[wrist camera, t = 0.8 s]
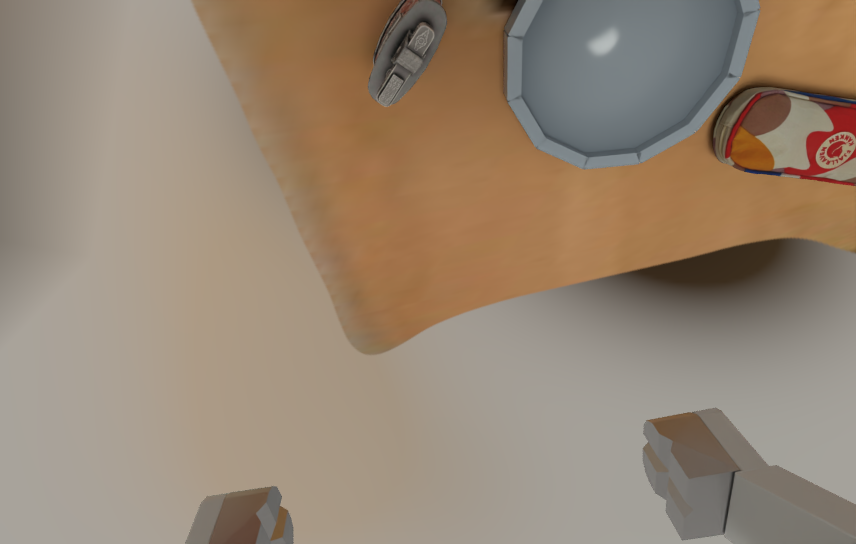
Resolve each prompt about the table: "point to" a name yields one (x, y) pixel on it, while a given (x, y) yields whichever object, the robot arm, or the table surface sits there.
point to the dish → (621, 72)
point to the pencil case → (789, 135)
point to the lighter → (406, 48)
